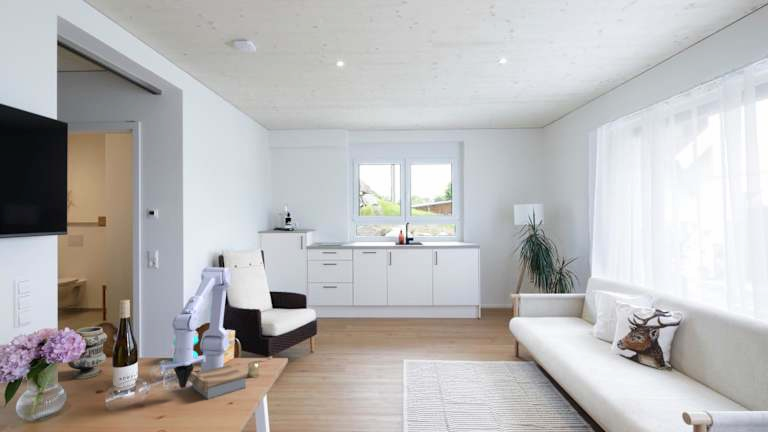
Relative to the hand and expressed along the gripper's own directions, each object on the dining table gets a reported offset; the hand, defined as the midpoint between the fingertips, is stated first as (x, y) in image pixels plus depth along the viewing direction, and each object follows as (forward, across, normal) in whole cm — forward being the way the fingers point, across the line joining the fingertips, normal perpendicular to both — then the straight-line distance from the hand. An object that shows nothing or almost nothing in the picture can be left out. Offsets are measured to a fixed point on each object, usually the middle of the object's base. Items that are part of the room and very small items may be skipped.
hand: (182, 386), depth 133 cm
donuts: (+4, +15, +39) cm, 42 cm away
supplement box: (+4, +27, +26) cm, 38 cm away
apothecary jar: (+4, -19, +48) cm, 52 cm away
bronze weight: (+4, +28, +2) cm, 28 cm away
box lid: (+1, +12, 0) cm, 12 cm away
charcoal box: (+4, +13, 0) cm, 14 cm away
